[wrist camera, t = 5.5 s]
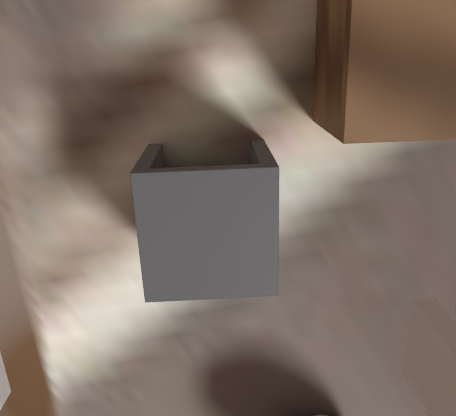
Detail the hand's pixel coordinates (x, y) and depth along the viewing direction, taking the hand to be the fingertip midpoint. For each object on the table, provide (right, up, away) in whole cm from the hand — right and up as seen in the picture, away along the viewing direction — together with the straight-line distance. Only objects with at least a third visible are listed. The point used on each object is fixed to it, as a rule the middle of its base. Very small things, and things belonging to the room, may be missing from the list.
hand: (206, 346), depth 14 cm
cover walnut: (+9, +13, +11) cm, 20 cm away
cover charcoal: (0, +5, +14) cm, 15 cm away
